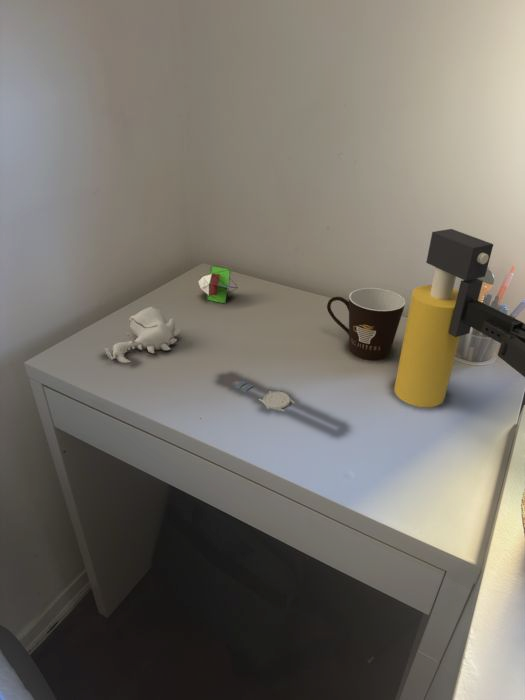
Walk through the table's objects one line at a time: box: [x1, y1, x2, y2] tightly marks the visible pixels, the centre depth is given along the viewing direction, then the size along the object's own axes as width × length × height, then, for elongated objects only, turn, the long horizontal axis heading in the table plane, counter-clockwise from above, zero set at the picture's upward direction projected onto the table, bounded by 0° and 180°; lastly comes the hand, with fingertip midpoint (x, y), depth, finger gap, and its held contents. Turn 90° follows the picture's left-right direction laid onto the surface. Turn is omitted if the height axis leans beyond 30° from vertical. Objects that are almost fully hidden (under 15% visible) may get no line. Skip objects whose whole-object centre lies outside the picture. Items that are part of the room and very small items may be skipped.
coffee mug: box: [326, 287, 406, 362], centre depth 81 cm, size 12×9×10 cm
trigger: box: [449, 278, 484, 337], centre depth 61 cm, size 2×1×7 cm, turn 117°
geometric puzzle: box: [197, 265, 239, 305], centre depth 98 cm, size 7×7×8 cm
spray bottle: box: [393, 228, 494, 408], centre depth 65 cm, size 7×9×24 cm
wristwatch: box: [234, 380, 296, 412], centre depth 69 cm, size 4×20×1 cm, turn 53°
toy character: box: [104, 306, 181, 364], centre depth 80 cm, size 6×9×12 cm
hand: (470, 311), depth 60 cm, fingers closed
